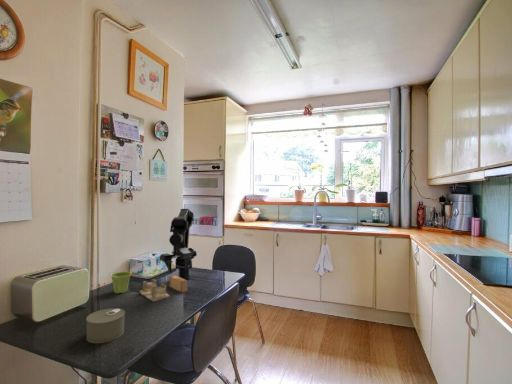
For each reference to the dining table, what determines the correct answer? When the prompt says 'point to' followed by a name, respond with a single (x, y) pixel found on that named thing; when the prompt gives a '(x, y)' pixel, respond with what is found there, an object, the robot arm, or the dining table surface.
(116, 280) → the plant pot
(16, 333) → the dining table surface
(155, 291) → the tan piece
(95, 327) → the can
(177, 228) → the robot arm
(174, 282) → the orange tan rectangular block
